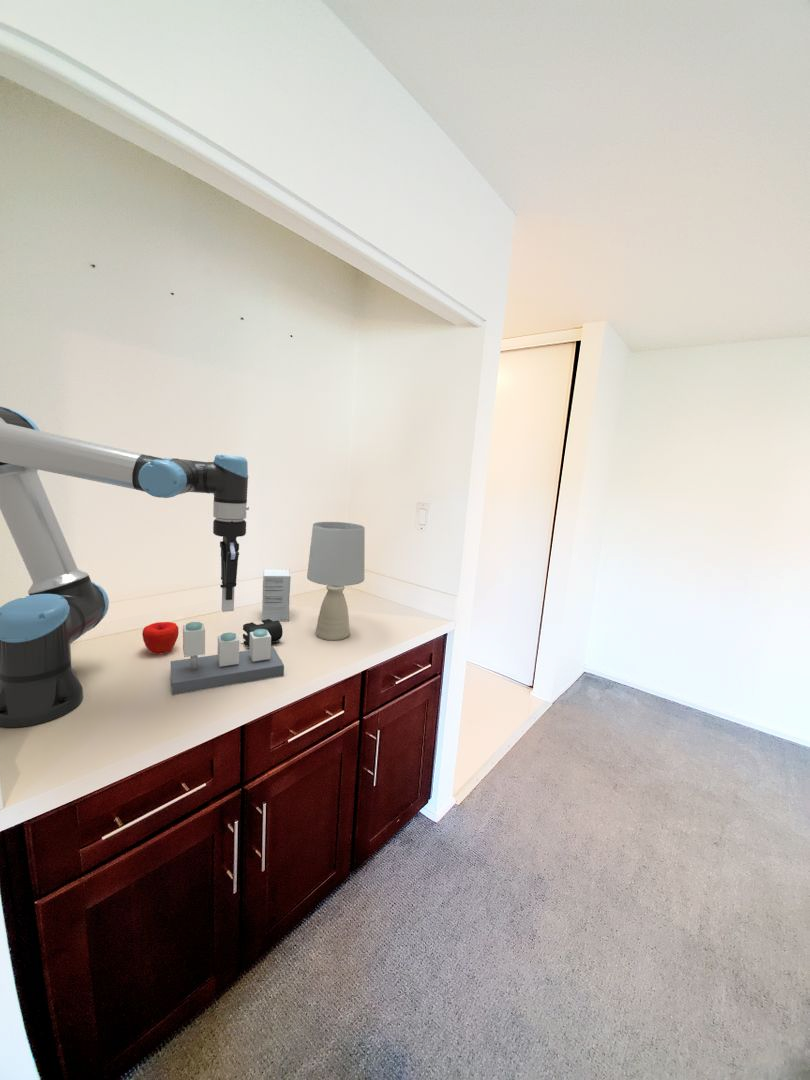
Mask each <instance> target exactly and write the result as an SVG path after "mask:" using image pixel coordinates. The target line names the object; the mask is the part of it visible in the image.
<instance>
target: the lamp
mask: <svg viewBox="0 0 810 1080" xmlns="http://www.w3.org/2000/svg"><path fill="white" fill-rule="evenodd" d="M365 530H366V529H365V526H364V525H362V524H361V525H360V524H358V523H357V524H356V523H351V522H341V521H318V522H317V521H316V522H315V523H313V524H312V531H311V537H310V546H309V554H308V555H309V556H308V563H307V572H306V573H307V574H306V578H307V580H308V581H310V582H312V583H315V584H317V585H323V586H326V587H325V588H326V590H327V592H326V594H325V596H324V598H323V601H322V602H321V605H320V609H319V615H318V617H317V622H316V623H317V624H316V629H315V634H316V636H317V637H318V638H320V639H322V640H325V641H341V640H343V639H346V638H348V637H349V636H350V620H349V619H350V618H349V609H348V605H347V601H346V596H345V594H344V589H346V588H345V587H348V586H349V587H350V586H355V585H359V584H361V583H363V582H364V581H365Z"/></svg>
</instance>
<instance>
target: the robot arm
mask: <svg viewBox="0 0 810 1080" xmlns="http://www.w3.org/2000/svg"><path fill="white" fill-rule="evenodd" d="M38 470H39V471H43V472H48V473H53V474H57V475H64V476H69V477H73V478H78V479H83V480H87V481H92V482H97V483H103V484H107V485H112V486H118V487H122V488H128V489H131V490H136V491H140V492H145V493H147V494H148V495H149V496H151V497H154V498H162V499H163V498H164V499H167V498H168V499H169V498H173V497H176V496H178V495H182V494H186V493H199V494H213V509H212V510H213V511H212V512H213V513H212V516H213V518H215V519H213V525H212V526H213V527H212V529H213V530H212V533H213V534H214V536H217V537H222V541H221V540H220V541H219V548H220V565H221V566H220V568H221V569H220V573H221V574H220V580H221V584H220V589H221V611H222V612H223V613H226V612H235V611H234V609H235V587H237V575H238V563H239V555H240V552H239V550H240V543H239V542H238V541H237V538H238V537H245V536H246V535H247V521H246V520H245V519H247V511H249V510H250V507H249V506H248V505H247V502H248V483H249V472H248V471H249V469H248V459H246V457H243V456H239V455H238V456H237V455H226V454H224V455H223V454H215V456H214V459H213V461H199V460H192V459H180V458H176V457H175V458H173V457H172V458H166V457H163V458H161V457H158V456H157V457H156V456H152V455H146V454H143V453H139V452H134V451H129V450H125V449H121V448H117V447H113V446H108V445H103V444H99V443H94V442H90V441H86V440H80V439H77V438H72V437H68V436H64V435H61V434H60V435H59V434H55V433H50V432H46V431H43V430H40V429H39V427H38V426H37V424H36V423H35V422H34V421H33V420H32V419H30V417H28V416H27V415H25V414H23V413H21V412H20V411H17V410H13V409H10V408H8V407H4V406H0V511H1V515H2V517H3V519H4V521H5V523H6V525H7V528H8V530H9V533H10V534H11V537H12V539H13V540H14V544H15V545H16V548H17V550H18V553H19V555H20V556H21V559H22V561H23V563H24V566H25V568H26V570H27V572H28V575H29V576H30V579H31V581H32V584H31V586H30V587H29V589H28V590H27V593H28V595H26V596H25V597H19V598H15V599H13V600H10V601H8V602H6V603H4V604H3V605H2V606H0V727H2V728H3V727H4V728H22V727H29V726H34V725H39V724H44V723H45V722H49V721H51V720H55V719H57V718H60V717H62V716H64V715H67V714H68V713H70V712H72V711H73V710H74V709H76V708H77V707H79V705H80V704H81V703H82V701H83V699H84V691H83V690H84V689H83V685H82V684H81V682H80V681H81V680H80V679H79V678H78V675H77V674H76V672H75V671H74V668H73V666H72V653H71V652H72V650H71V645H72V644H73V642H74V641H76V640H78V639H79V638H81V637H82V636H83V635H84V634H86V633H87V632H89V631H91V630H92V629H94V628H95V627H96V626H98V624H99V623H101V621H102V620H103V619H104V618H105V616H106V615H107V613H108V610H109V608H110V607H109V605H110V600H109V597H108V594H107V592H106V590H105V589H104V588H103V587H102V586H101V585H100V584H96V583H95V582H94V581H92V580H91V578H90V575H89V573H88V572H85V571H83V570H79V568H78V567H77V564H76V561H75V559H74V557H73V555H72V552H71V550H70V547H69V544H68V543H67V540H66V538H65V535H64V533H63V531H62V528H61V526H60V524H59V522H58V519H57V517H56V514H55V512H54V510H53V509H54V508H53V506H52V505H51V502H50V500H49V498H48V497H49V496H48V495H47V492H46V490H45V488H44V485H43V484H42V481H41V479H40V475H39V473H38Z"/></svg>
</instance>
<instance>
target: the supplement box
mask: <svg viewBox="0 0 810 1080" xmlns="http://www.w3.org/2000/svg"><path fill="white" fill-rule="evenodd" d="M290 570H291V569H290V568H289V569H287V568H285V569H283V568H281V569H280V568H264V569H263V575H262V600H261V601H262V605H261V606H262V608H261V609H262V611H261V612H262V614H261V621H262V620H266V619H270V620H272V621H277V620H278V621H279V622H289V620H290V592H291V579H292V578H291V573H290Z"/></svg>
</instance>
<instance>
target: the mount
mask: <svg viewBox="0 0 810 1080" xmlns="http://www.w3.org/2000/svg"><path fill="white" fill-rule="evenodd" d="M217 656H218V654H213V655H211V654H210V655H204V656H199V655H197V656H190V657H189V658H184V659H177V660H170V680H171V694H172V696H174V695H180V694H181V695H182V694H186V693H193V692H198V691H203V690H204V691H205V690H209V689H216V688H218V687H219V688H220V687H227V686H232V685H238V684H243V683H249V682H254V681H261V680H266V679H272V678H277V677H278V678H279V677H284V676H285V675H284V673H285V664H284V663H283V661H282V659H281V657H280V656H279V654H278V652H277V650H276V649H275V647H274V646H271V658H270V659H267V660H260V661H254V662H253V661H252V659H251V657H250V655H249V650H248V649H247V650H241V651H240V650H239V664H234V665H227V666H221V667H220V666H219V662H218V659H217Z"/></svg>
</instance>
